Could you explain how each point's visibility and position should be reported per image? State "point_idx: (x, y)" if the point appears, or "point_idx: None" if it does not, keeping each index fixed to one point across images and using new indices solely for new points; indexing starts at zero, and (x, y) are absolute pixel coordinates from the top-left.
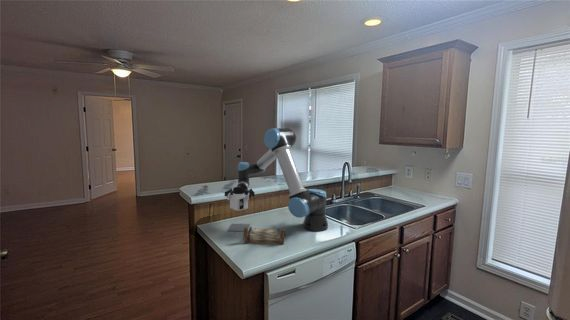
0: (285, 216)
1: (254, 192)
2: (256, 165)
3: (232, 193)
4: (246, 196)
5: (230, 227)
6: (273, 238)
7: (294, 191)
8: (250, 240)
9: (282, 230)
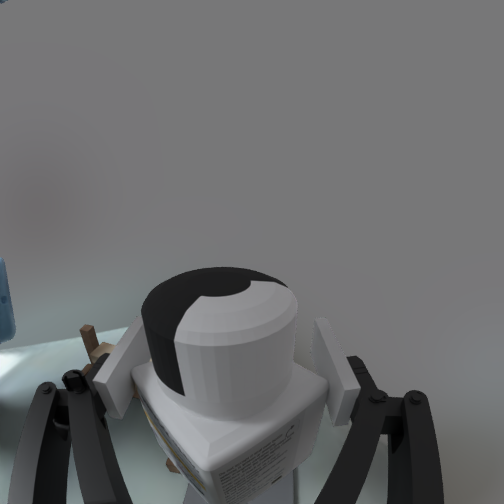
0: None
1: (39, 386)
2: None
3: (336, 461)
4: (147, 363)
5: (288, 499)
6: None
7: None
8: None
9: (89, 326)
